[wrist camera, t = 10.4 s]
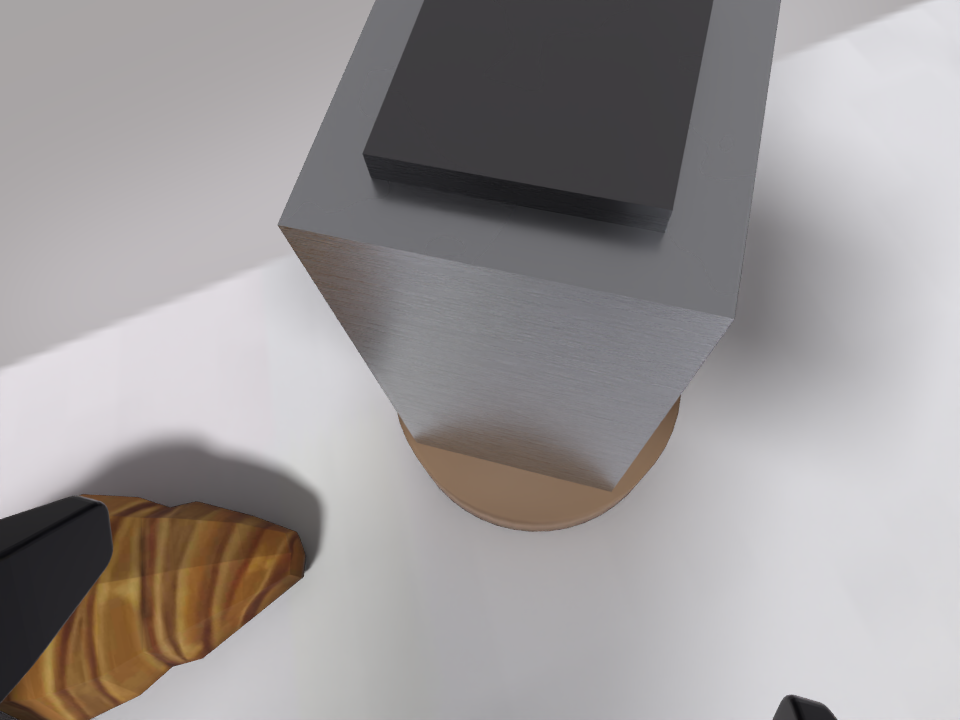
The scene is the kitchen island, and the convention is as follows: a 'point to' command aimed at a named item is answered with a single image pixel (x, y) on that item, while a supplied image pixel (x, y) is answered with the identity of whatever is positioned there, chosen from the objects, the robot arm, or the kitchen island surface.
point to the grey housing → (538, 215)
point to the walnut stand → (531, 485)
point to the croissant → (157, 604)
